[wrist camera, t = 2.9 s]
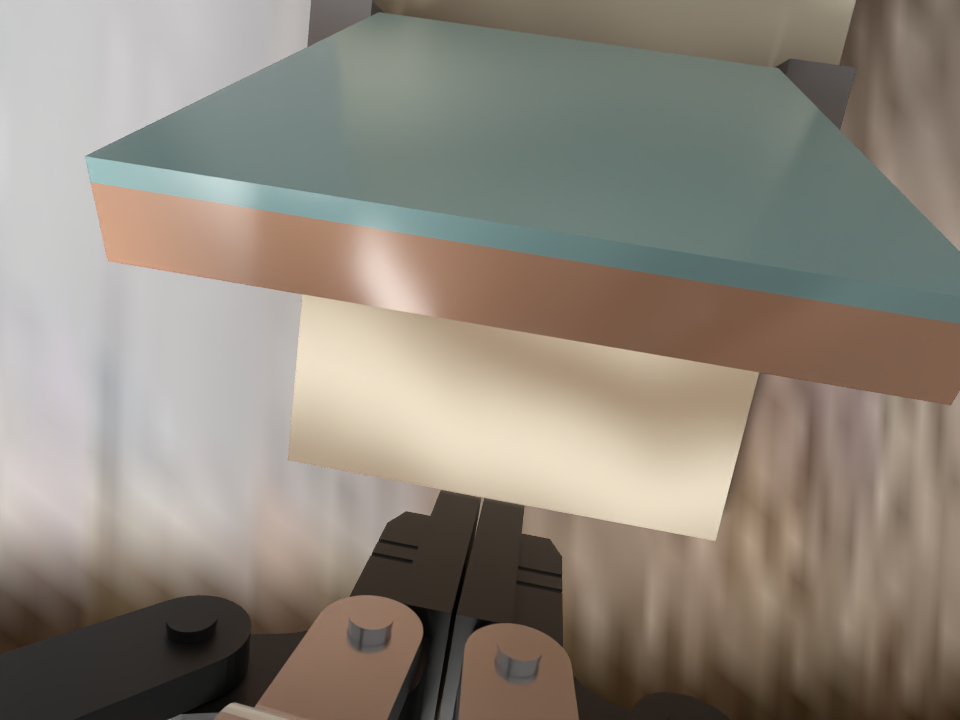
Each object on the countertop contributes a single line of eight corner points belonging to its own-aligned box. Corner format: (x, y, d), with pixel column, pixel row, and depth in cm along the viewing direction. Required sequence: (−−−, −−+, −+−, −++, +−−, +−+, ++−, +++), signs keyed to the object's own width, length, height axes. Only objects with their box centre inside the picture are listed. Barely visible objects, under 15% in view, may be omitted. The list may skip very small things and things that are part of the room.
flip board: (389, -499, 18) (358, -624, 15) (956, -450, 17) (1032, -573, 14) (300, 447, 24) (268, 479, 21) (707, 523, 23) (726, 567, 20)
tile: (390, 57, 19) (392, 5, 19) (752, 109, 19) (768, 58, 18) (107, 260, 9) (84, 156, 8) (950, 405, 8) (1012, 304, 7)
